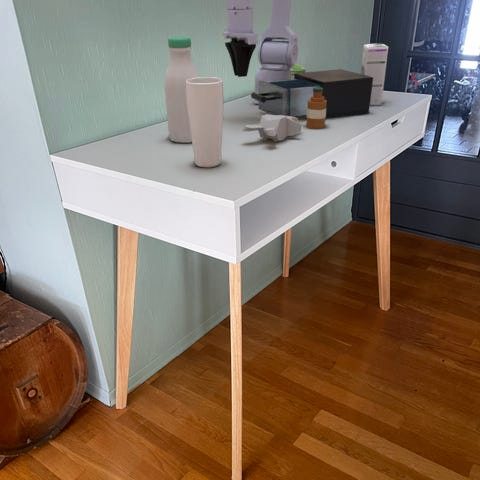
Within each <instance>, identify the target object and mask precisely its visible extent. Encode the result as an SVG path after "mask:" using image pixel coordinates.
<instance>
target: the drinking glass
mask: <svg viewBox="0 0 480 480" xmlns="http://www.w3.org/2000/svg"><path fill="white" fill-rule="evenodd" d="M224 97H225V96H224V83H223V79H221V78H220V77H213V76H199V77H198V78H191V79H188V80H186V101H187V110H188V117H189V124H190V130H191V137H192V142H191V143H192V151H193V152H192V153H193V162H194V164H195V165H196V166H197V167H200V168H214V167H218V166H219V165H221V163H222V159H223V157H222V150H223V149H222V146H223V128H224V127H223V125H224V105H225V103H224V102H225V101H224V100H225V99H224Z"/></svg>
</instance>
